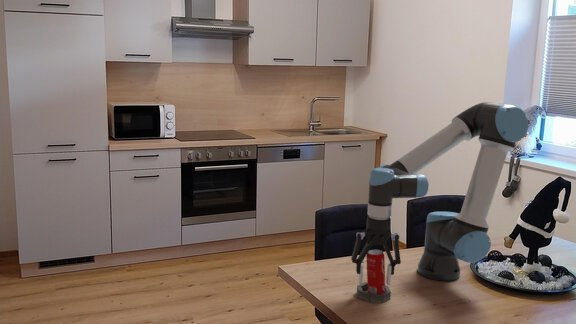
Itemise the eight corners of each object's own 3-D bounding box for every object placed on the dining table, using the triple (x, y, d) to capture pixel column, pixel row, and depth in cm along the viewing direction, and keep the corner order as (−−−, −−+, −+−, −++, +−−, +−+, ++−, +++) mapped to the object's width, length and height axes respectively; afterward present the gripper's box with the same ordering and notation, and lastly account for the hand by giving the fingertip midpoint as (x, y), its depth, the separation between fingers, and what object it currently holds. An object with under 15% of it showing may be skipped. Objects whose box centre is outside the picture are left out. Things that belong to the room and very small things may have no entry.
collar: (385, 289, 189) (386, 282, 189) (392, 303, 179) (392, 295, 179) (355, 289, 189) (355, 282, 189) (359, 302, 179) (360, 294, 178)
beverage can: (385, 299, 180) (386, 255, 178) (364, 298, 182) (366, 254, 179) (385, 292, 186) (387, 249, 183) (365, 290, 187) (367, 247, 184)
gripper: (409, 214, 183) (403, 279, 187) (344, 212, 183) (340, 278, 187) (414, 220, 176) (409, 288, 180) (347, 218, 175) (343, 287, 179)
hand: (374, 283), depth 183 cm, fingers open, 8 cm apart
